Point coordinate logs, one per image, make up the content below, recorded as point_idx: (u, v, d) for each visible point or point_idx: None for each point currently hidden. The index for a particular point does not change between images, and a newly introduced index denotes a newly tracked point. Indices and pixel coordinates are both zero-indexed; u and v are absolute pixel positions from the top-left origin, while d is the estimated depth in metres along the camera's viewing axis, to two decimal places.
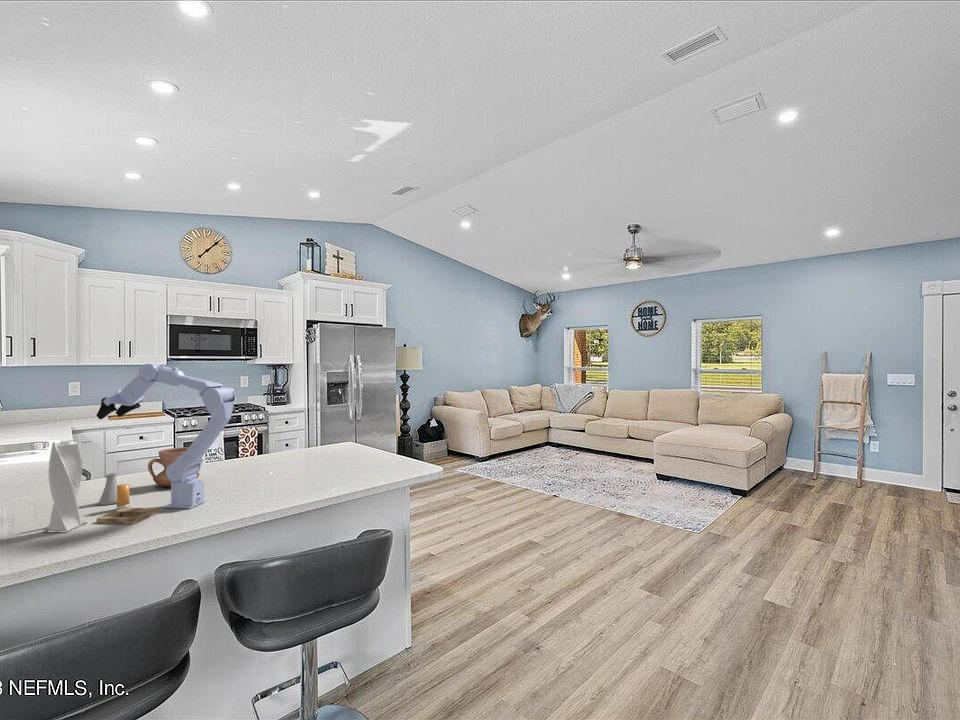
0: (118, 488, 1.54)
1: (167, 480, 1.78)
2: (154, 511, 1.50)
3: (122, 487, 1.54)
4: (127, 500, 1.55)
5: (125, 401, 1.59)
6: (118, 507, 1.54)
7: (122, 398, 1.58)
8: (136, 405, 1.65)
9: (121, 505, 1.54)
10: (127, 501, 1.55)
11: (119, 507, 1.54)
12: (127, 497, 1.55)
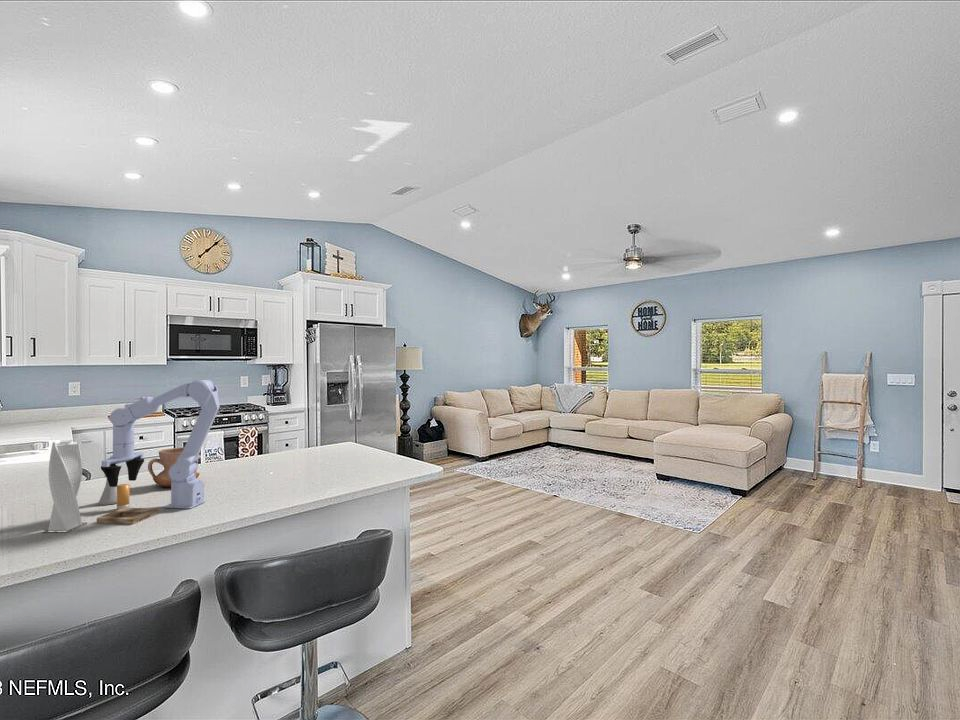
0: (118, 488, 1.54)
1: (167, 480, 1.78)
2: (154, 511, 1.50)
3: (122, 487, 1.54)
4: (127, 500, 1.55)
5: (122, 456, 1.53)
6: (118, 507, 1.54)
7: (118, 456, 1.53)
8: (139, 459, 1.60)
9: (121, 505, 1.54)
10: (127, 501, 1.55)
11: (119, 507, 1.54)
12: (127, 497, 1.55)
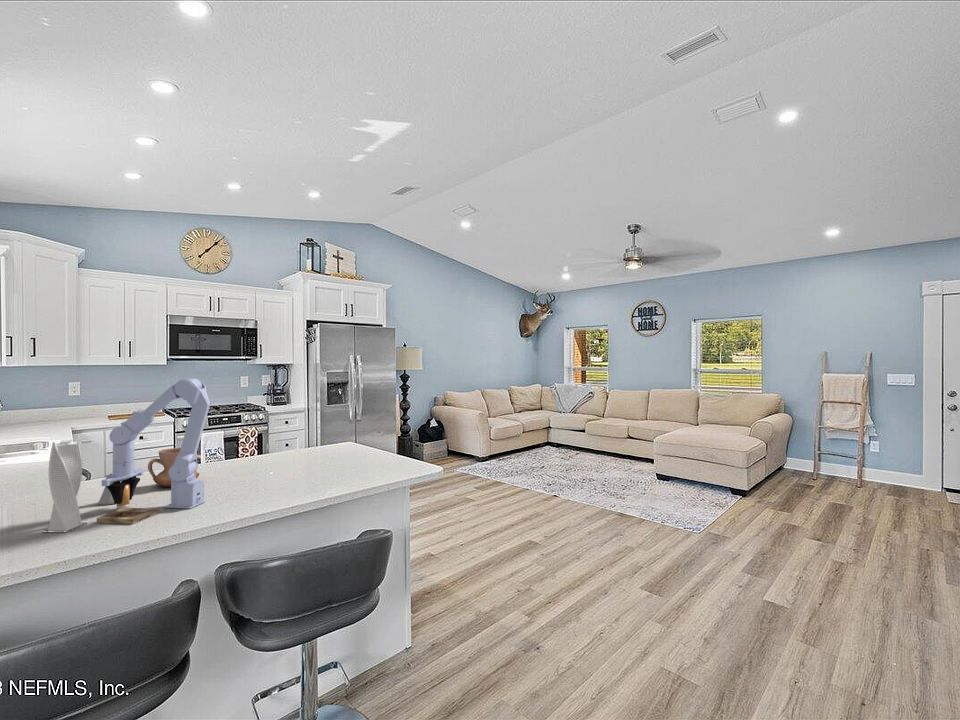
0: None
1: (167, 480, 1.78)
2: (154, 511, 1.50)
3: None
4: (127, 500, 1.55)
5: (122, 475, 1.53)
6: (118, 507, 1.54)
7: (118, 474, 1.53)
8: None
9: (121, 505, 1.54)
10: (127, 501, 1.55)
11: (119, 507, 1.54)
12: (127, 497, 1.55)
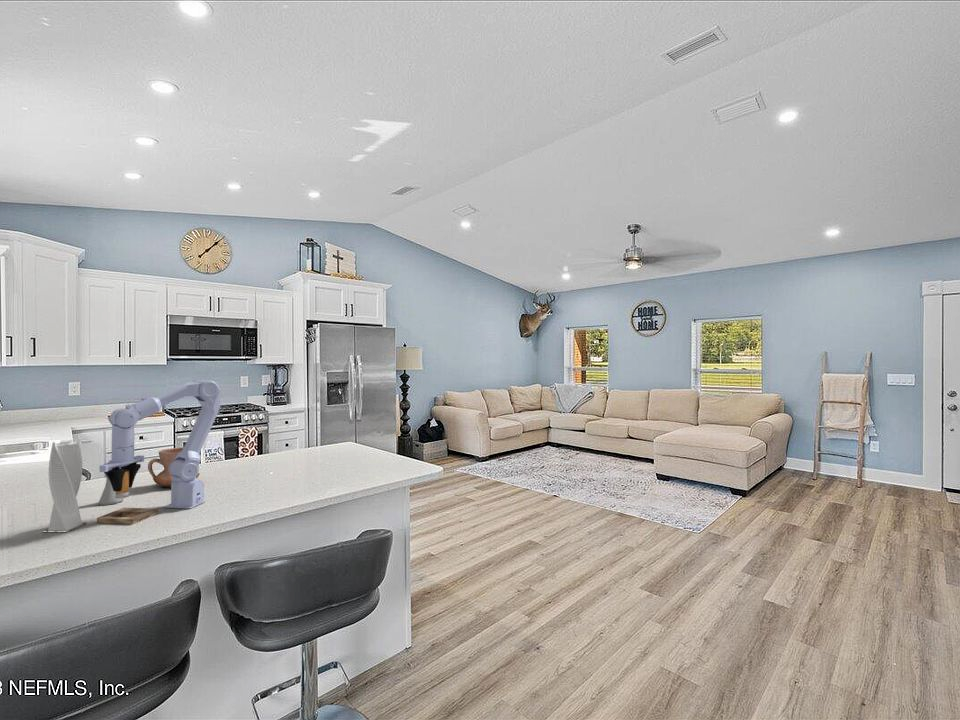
0: None
1: (167, 480, 1.78)
2: (154, 511, 1.50)
3: None
4: (126, 488, 1.46)
5: (122, 460, 1.44)
6: (116, 495, 1.44)
7: (117, 460, 1.43)
8: (140, 464, 1.50)
9: (120, 493, 1.44)
10: (126, 489, 1.46)
11: (117, 495, 1.44)
12: (126, 484, 1.46)
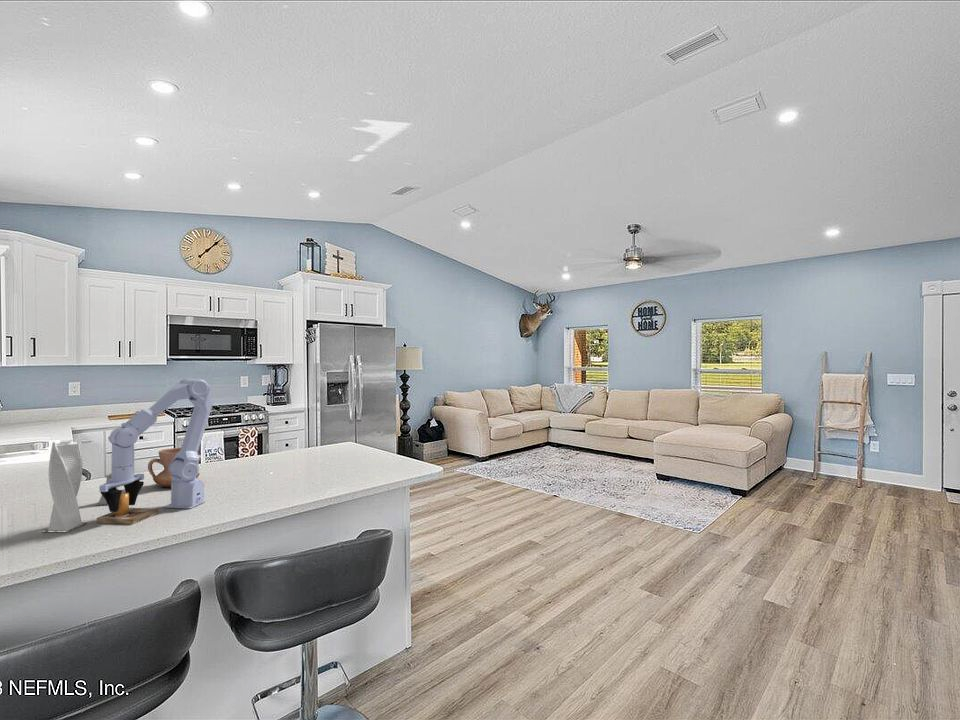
0: None
1: (167, 480, 1.78)
2: (154, 511, 1.50)
3: (121, 496, 1.44)
4: (126, 510, 1.46)
5: (122, 479, 1.43)
6: None
7: (117, 479, 1.43)
8: (140, 482, 1.50)
9: (119, 515, 1.44)
10: (126, 511, 1.46)
11: None
12: (126, 507, 1.46)
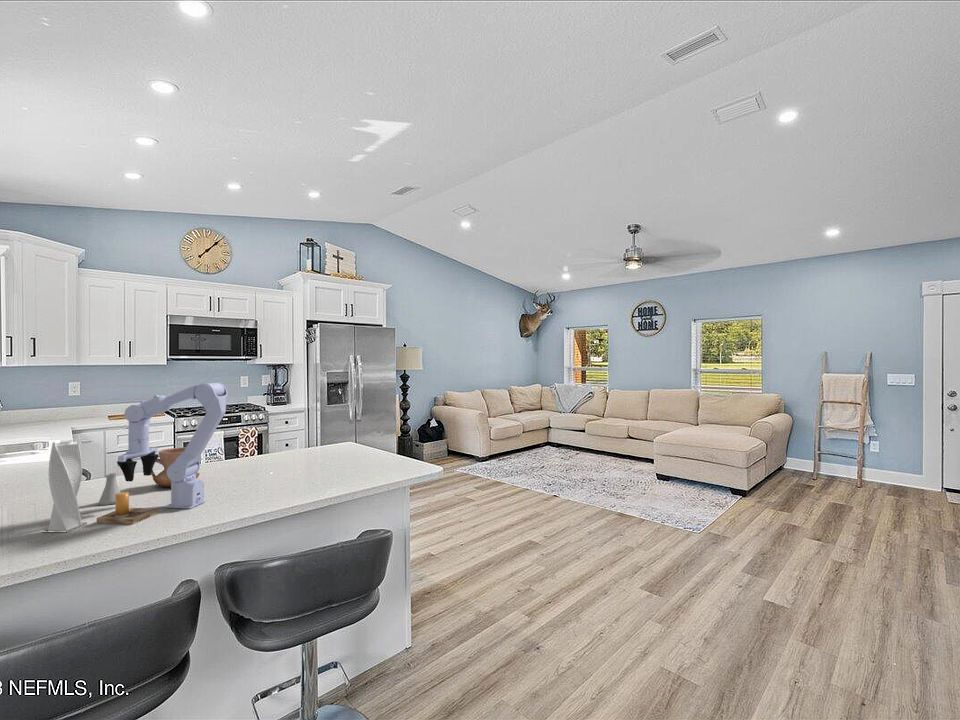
0: (116, 497, 1.44)
1: (167, 480, 1.78)
2: (154, 511, 1.50)
3: (121, 496, 1.44)
4: (126, 510, 1.46)
5: (138, 451, 1.57)
6: None
7: (134, 451, 1.56)
8: (154, 455, 1.63)
9: (120, 515, 1.44)
10: (126, 511, 1.46)
11: None
12: (126, 507, 1.46)
